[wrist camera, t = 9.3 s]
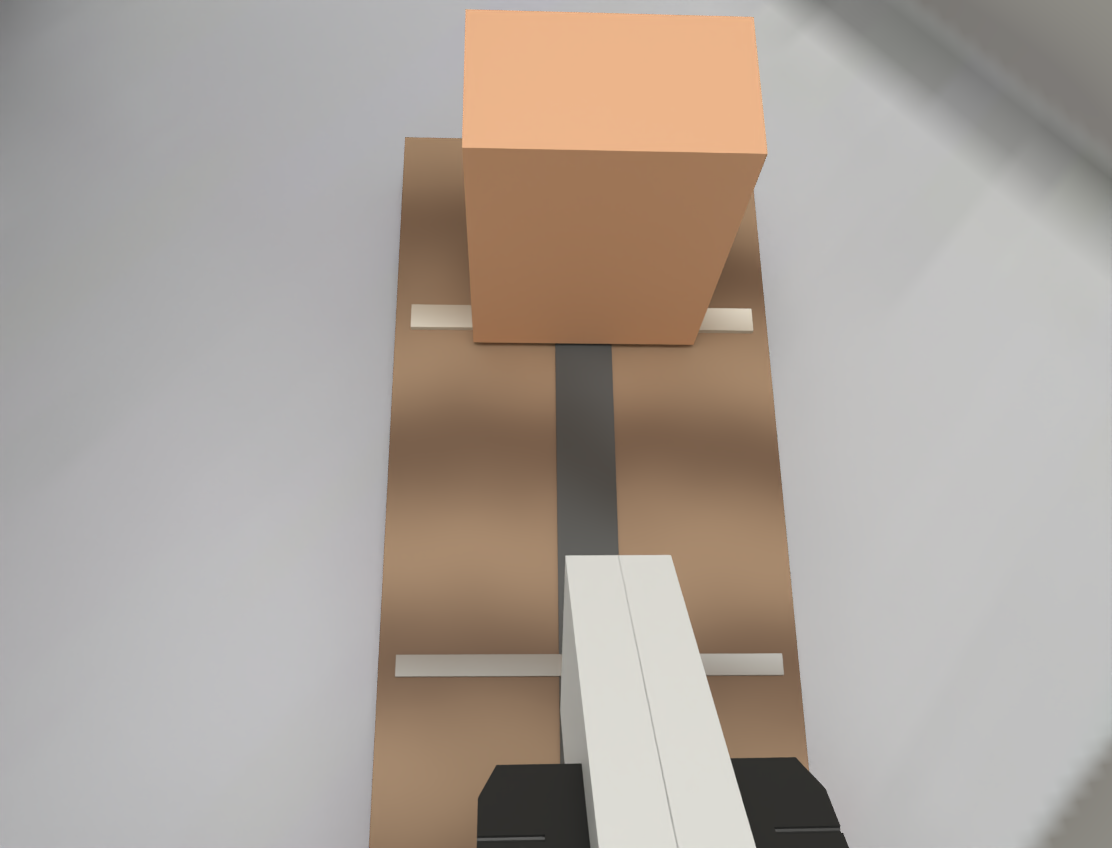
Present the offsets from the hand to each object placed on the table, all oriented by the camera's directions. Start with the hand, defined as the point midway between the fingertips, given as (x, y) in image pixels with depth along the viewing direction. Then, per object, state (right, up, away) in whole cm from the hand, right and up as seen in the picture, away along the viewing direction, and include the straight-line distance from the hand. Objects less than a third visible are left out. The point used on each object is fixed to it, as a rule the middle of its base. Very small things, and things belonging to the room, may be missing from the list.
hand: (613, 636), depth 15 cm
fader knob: (0, +8, +19) cm, 20 cm away
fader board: (0, +1, +19) cm, 19 cm away
